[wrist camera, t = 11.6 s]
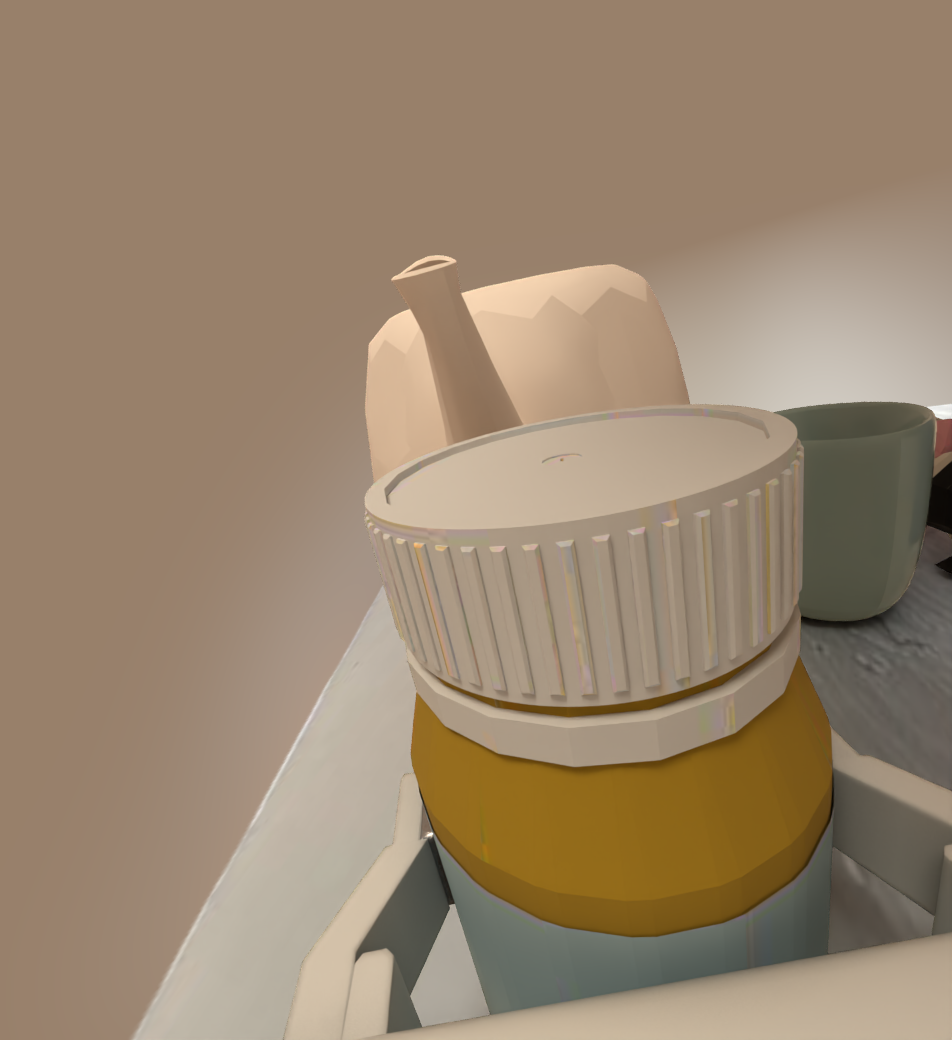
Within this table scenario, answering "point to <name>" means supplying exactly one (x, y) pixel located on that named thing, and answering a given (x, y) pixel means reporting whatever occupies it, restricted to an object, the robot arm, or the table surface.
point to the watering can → (512, 356)
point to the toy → (942, 486)
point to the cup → (862, 504)
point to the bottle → (614, 696)
